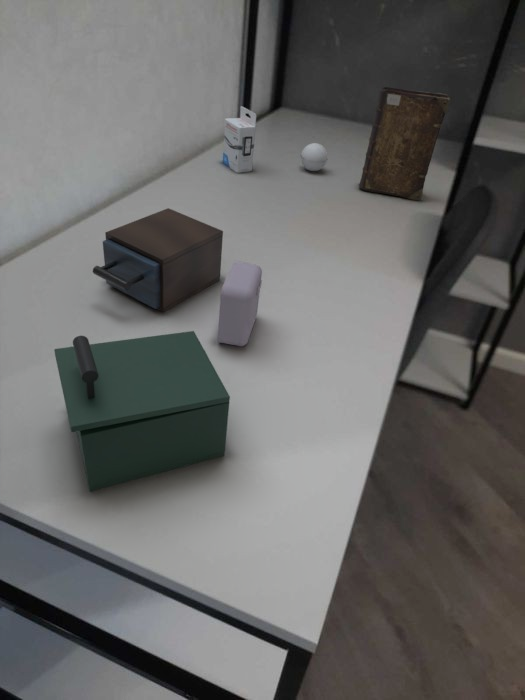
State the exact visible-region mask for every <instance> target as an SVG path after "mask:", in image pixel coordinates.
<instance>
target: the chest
mask: <svg viewBox="0 0 525 700" xmlns="http://www.w3.org/2000/svg"><path fill="white" fill-rule="evenodd" d="M229 410H230V401H229V402H226V403H221V404H216V405H211V406H205V407H200V408H195V409H190V410H185V411H180V412H174V413H169V414H164V415H159V416H154V417H148V418H143V419H138V420H133V421H128V422H123V423H117V424H112V425H107V426H102V427H97V428H92V429H86V430H81V431H76V432H75V433H76V436H77V440H78V446H79V449H80V450H79V451H80V454H81V458H82V464H83V468H84V472H85V477H86V481H87V486H88V490H89V491H88V492H93V491H96V490H101V489H104V488H109V487H111V486H117V485H119V484H123V483H127V482H131V481H134V480H138V479H143V478H146V477H149V476H153V475H157V474H160V473H164V472H168V471H172V470H175V469H180V468H184V467H186V466H189V465H194V464H197V463H201V462H205V461H209V460H212V459H217V458H220V457H223V456H226V455H225V454H226V443H227V432H228V423H229V422H228V421H229V412H230V411H229Z"/></svg>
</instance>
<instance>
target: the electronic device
mask: <svg viewBox="0 0 525 700" xmlns="http://www.w3.org/2000/svg"><path fill="white" fill-rule="evenodd" d="M262 276H263V269H262V268H261V266H260V265H258V264H256V263H251V262H245V261H238V260H234V261H233V263H232V265H231V267H230V268H229V271H228V274H227V275H226V277H225V280H224V282H223V284H222V286H221V291H220V298H219V313H218V329H217V343H221V344H227V345H231V346H238V347H244V346H245V345H247V344H248V342H249V340H250V338H251V337H250V336H251V334H252V331H253V327H254V325H255V321H256V318H257V315H258V308H259V301H260V293H261V288H262V287H261V286H262V281H263V280H262Z"/></svg>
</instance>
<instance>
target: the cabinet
mask: <svg viewBox="0 0 525 700" xmlns="http://www.w3.org/2000/svg"><path fill="white" fill-rule="evenodd" d="M104 233H105V240H107V239H109V240H111V241H113V242H115V243H120V244H122V245H124V246H126V247H128V248H130V249H132V250H134V251H136V252H138V253H140V254H142V255H145V256H147V257H149V258H151V259H153V260H155V261H157V262H159V264H160V296H161V306H160V307H159V308H157V309H156V310H158V311H160V312H162V313H165V312H167V311H169V310H171V309H172V308H174V307H176V306H178V305H179V304H181V303H183V302H184V301H187V299H189V298H191V297H193V296H195V295H196V294H198V293H200V292H202V291H204V290H205V289H207V288H208V287H211V286H212V285H214V284H215V283H217V282H219V281H221V270H222V269H221V268H222V252H223V236H224V231H223V230H222V229H219V228H217V227H215V226H212V225H209V224H207V223H205V222H202V221H200V220H198V219H196V218H193V217H190V216H188V215H186V214H184V213H181V212H179V211H176V210H174V209H171V208H169V207H168V208H165V209H162V210H160V211H157V212H155V213H152V214H150V215H147V216H145V217H142V218H140V219H139V218H138V219H137V220H134V221H131V222H129V223H126V224H124V225H121V226H118V227H116V228H113V229H110V230H108V231H105V232H104Z"/></svg>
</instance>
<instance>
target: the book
mask: <svg viewBox="0 0 525 700" xmlns="http://www.w3.org/2000/svg"><path fill="white" fill-rule="evenodd" d="M450 100H451V98H450V97H449V96H448V94H446V93H441V92H427V91H419V90H412V89H401V88H398V87H397V88H396V87H389V86H383V87H381V88H380V89H379V94H378V99H377V105H376V106H375V112H374V118H373V122H372V125H371V126H372V127H371V132H370V136H369V138H368V145H367V151H366V153H365V159H364V163H363V167H362V173H361V177H360V182H359V184H358V187H359V188H360V189H361V190H363V191H366V192H371V193H378V194H383V195H390V196H395V197H400V198H405V199H409V200H414V201H421V199H422V197H423V192H424V188H425V183H426V177H427V175H428V171H429V168H430V164H431V161H432V158H433V154H434V150H435V148H436V143H437V140H438V137H439V134H440V131H441V126H442V124H443V122H444V119H445V116H446V114H447V110H448V107H449V104H450Z"/></svg>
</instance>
